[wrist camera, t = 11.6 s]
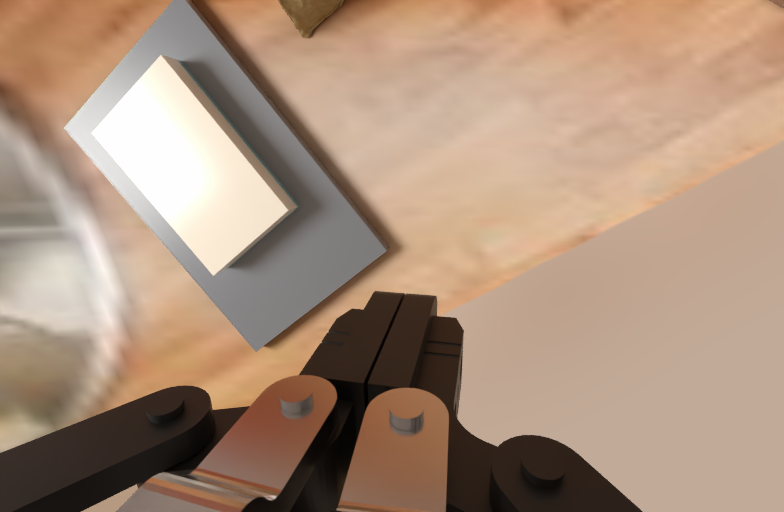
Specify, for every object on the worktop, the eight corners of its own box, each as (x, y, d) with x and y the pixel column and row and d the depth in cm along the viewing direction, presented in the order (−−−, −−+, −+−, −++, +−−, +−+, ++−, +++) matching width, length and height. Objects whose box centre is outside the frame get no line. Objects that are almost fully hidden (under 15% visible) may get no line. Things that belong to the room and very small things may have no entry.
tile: (288, 210, 35) (160, 54, 33) (213, 275, 37) (91, 133, 36) (299, 206, 37) (181, 61, 36) (228, 268, 40) (114, 134, 38)
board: (389, 247, 38) (386, 250, 37) (261, 346, 42) (255, 351, 41) (188, -3, 36) (179, -8, 35) (75, 128, 40) (63, 128, 39)
